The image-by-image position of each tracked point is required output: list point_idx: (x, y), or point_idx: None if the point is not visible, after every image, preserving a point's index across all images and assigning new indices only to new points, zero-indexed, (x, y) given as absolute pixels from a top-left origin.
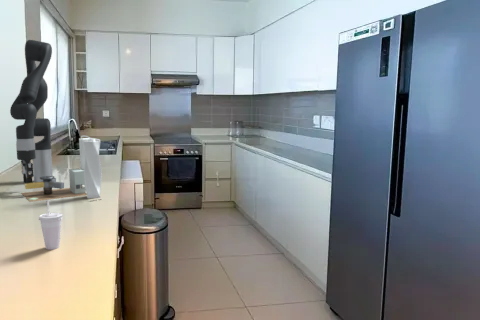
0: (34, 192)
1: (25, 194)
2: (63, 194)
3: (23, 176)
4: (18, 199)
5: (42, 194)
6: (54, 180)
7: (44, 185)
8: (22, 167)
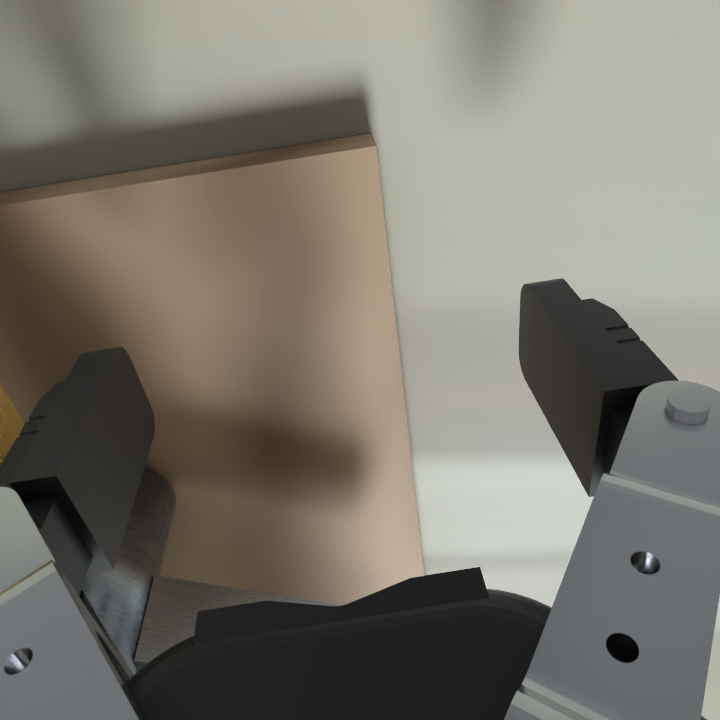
0: (313, 348)
1: (185, 224)
2: None
3: (587, 372)
4: (15, 84)
5: None
6: None
7: None
8: (518, 697)
